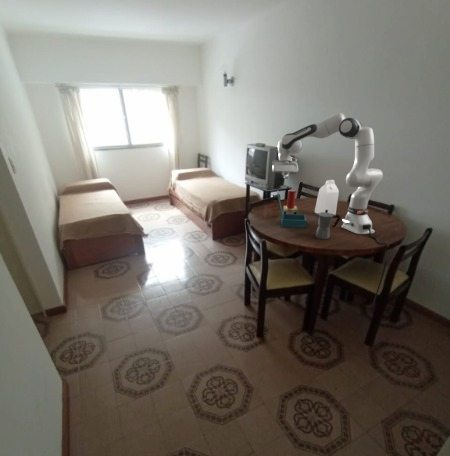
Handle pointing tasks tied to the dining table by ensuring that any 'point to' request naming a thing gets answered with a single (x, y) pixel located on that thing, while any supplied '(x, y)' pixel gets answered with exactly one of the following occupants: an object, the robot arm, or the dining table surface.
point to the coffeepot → (325, 224)
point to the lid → (279, 202)
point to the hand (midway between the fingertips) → (285, 178)
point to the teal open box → (293, 220)
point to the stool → (290, 210)
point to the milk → (327, 198)
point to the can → (291, 199)
